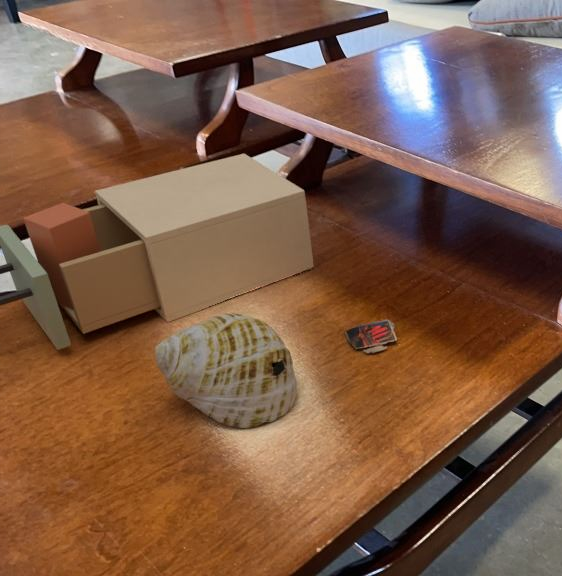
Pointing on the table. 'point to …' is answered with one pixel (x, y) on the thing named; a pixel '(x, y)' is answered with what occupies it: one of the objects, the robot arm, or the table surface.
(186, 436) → the table surface
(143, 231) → the cabinet
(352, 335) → the matchbox
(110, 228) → the drawer
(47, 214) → the block
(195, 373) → the seashell
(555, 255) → the table surface
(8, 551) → the table surface
